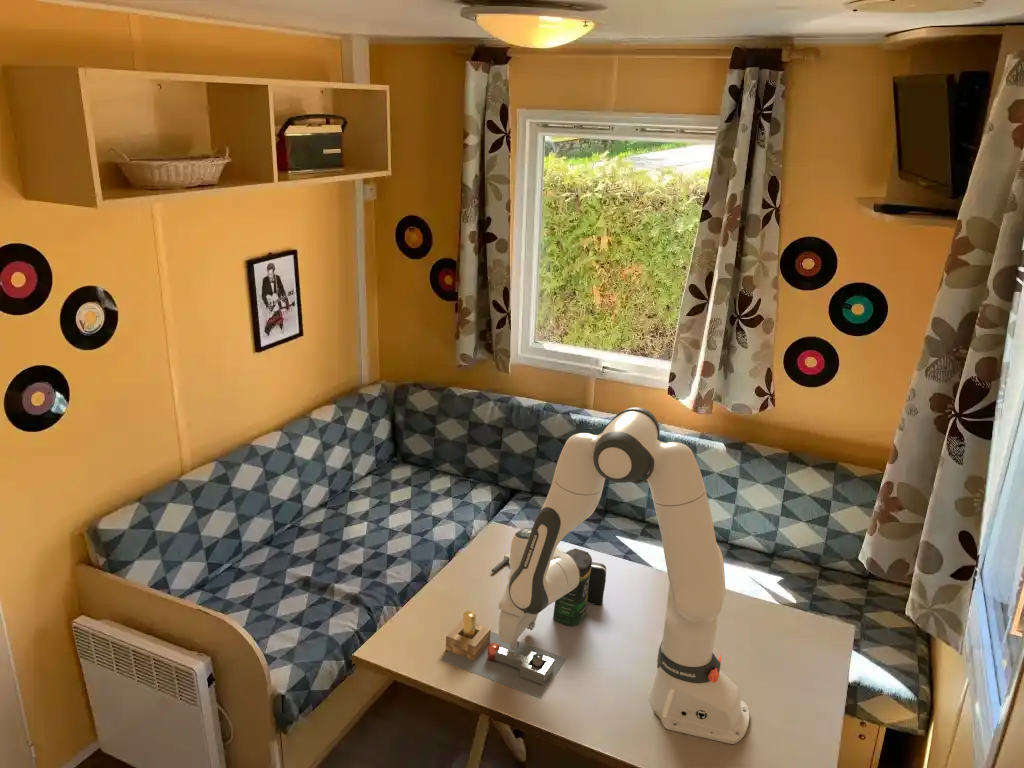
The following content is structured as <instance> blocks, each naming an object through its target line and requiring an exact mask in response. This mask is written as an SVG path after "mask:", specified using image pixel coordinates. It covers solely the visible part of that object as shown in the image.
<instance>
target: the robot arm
mask: <svg viewBox="0 0 1024 768" xmlns="http://www.w3.org/2000/svg"><path fill="white" fill-rule="evenodd" d="M660 433H661V431H660V424H659V422H658V420H657V418H656V416H655V415H654V414H653V413H652V412H650V411H649V410H647V409H646V408H643V407H638V406H636V407H635V406H634V407H629V408H626V409H624V410H622V411H620V412H619V413H617V414H616V415H615V416H614V417H613V418H612V419H611V420H610V421H608V423H607V424H605V425H604V426H603V428H602V432H601V433H599V434H592V433H589V432H578V433H574V434H573V435H571V436H570V437H569V438H568V439H567V440H566V441H565V444H564V446H563V447H562V450H561V452H560V455H559V458H558V460H557V463H556V466H555V469H554V473H553V477H552V482H551V485H550V488H549V490H548V494H547V496H546V498H545V500H544V503H543V505H542V506H541V509H540V511H539V513H538V515H537V517H536V518H535V521H534V523H533V526H531V527H526V528H523V529H520V530H519V531H517V532H515V533H514V535H513V537H512V539H511V543H510V547H509V548H510V549H509V550H510V551H509V552H510V559H509V563H508V565H509V568H510V571H509V574H508V577H507V584H506V586H505V590H504V592H503V594H502V596H501V598H500V600H499V601H498V610H500V612H499V619H498V634H499V638H500V639H501V641H504V642H506V643H509V644H510V649H511V650H514V651H516V650H517V648H518V647H519V642H520V641H519V640H518V639H519V638H520V636H521V635H522V634H523V633H524V631H526V629H527V630H530V631H533V629H534V628H535V627H536V621H537V618H538V615H539V613H541V612H542V611H543V610H545V609H546V608H547V607H548V606H550V605H551V604H553V603H555V601H556V600H558V599H560V598H561V597H563V596H564V595H566V594H567V593H569V592H571V591H572V590H573V589H575V588H576V587H577V586H578V585H579V582H580V570H579V566H578V564H577V562H576V561H575V559H574V558H573V557H572V556H570V555H569V554H567V553H566V552H564V551H562V550H561V549H559V548H558V545H559V544H560V542H561V541H562V540H563V539H564V538H565V537H566V536H567V535H568V534H569V533H570V532H571V531H573V530H574V529H575V528H576V527H577V526H579V525H580V524H582V523H583V522H584V521H585V520H587V519H589V518H590V517H591V516H592V515H593V514H594V512H595V510H596V509H597V506H598V504H599V502H600V500H601V498H602V494H603V491H604V490H603V489H604V486H605V481H606V480H608V481H609V482H614V483H620V484H622V483H623V484H624V483H632V484H633V483H634V484H642V483H644V482H646V481H647V483H648V486H649V488H650V489H649V490H650V493H651V499H652V501H653V506H654V510H655V515H656V518H657V522H658V525H659V526H658V527H659V531H660V534H661V535H660V536H661V541H662V542H661V543H662V549H663V554H664V559H665V560H664V561H665V565H666V566H665V567H666V571H667V576H668V583H669V585H668V595H667V603H666V612H665V619H664V627H663V635H662V640H661V643H660V645H659V648H658V652H657V660H656V662H657V663H656V669H657V670H656V673H655V676H654V679H653V682H652V684H651V686H650V688H649V690H648V693H647V700H648V701H647V702H648V703H649V706H650V707H651V708H652V710H653V712H654V714H655V715H656V716H658V718H659V719H660V722H661V725H662V726H663V727H664V728H666V730H669V731H674V732H679V733H683V734H687V735H691V736H695V737H700V738H703V739H707V740H708V739H709V740H712V741H717V742H721V743H725V744H730V745H734V744H737V743H739V742H740V741H741V740H742V739H743V738H744V736H746V733H747V731H748V728H749V724H750V710H749V707H748V705H747V703H746V702H745V701H743V700H741V693H740V690H739V687H738V685H736V684H735V682H733V681H732V680H731V679H730V678H729V677H728V676H727V675H726V674H725V673H724V672H723V671H722V670H721V666H722V665H721V662H722V655H719V657H717V656H715V653H714V648H715V641H716V635H717V628H718V617H719V615H720V614H721V612H722V609H723V606H724V603H725V599H726V595H727V593H726V592H727V590H726V589H727V588H726V577H725V564H724V563H725V562H724V556H723V553H722V550H721V548H720V546H719V545H718V543H717V538H716V537H717V536H716V533H715V527H714V525H715V524H714V521H713V516H712V512H711V508H710V504H709V503H710V502H709V499H708V495H707V490H706V486H705V482H704V479H703V476H702V472H701V469H700V466H699V464H698V461H697V459H696V457H695V454H694V452H693V450H692V449H691V448H690V447H689V446H688V445H686V444H685V443H682V442H678V441H670V442H669V441H668V442H665V441H661V440H660ZM518 641H519V642H518Z"/></svg>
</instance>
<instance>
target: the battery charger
mask: <svg viewBox="0 0 1024 768" xmlns="http://www.w3.org/2000/svg"><path fill="white" fill-rule="evenodd" d="M606 583H607V567H606V565H605V564H603V563H599V562H593V561H592V567H591V573H590V580H589V589H588V602H587V604H591V605H599V606H602V605H603V604H604V593H605V590H606V589H605V588H606Z"/></svg>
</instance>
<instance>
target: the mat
mask: <svg viewBox="0 0 1024 768" xmlns="http://www.w3.org/2000/svg"><path fill="white" fill-rule="evenodd" d="M517 641H518V642H519V647H518V648H517V650H516V651H514V650H511V649H510V644H509V643H506V642H504V641H501V639H500V638H499V633H497V632H494V631H491V634H490V643H497V644H499V646H500V647H501V648H504V649H507V650H509V651H512V652H515V653H518V654H520V655H523V656H526V657H527V656H528V655H529V654H530V653H531V651H532V652H534V653H540V654H542V655H543V656H546V657H549V658H551V659H554V670H553V672H552V673H551V675H550V676H549V678H548V679H547V680H546V682H545V683H544V685H541V684H539V683H536V682H533V681H531V680H528V679H525V678H523V677H520V669H518V668H516V667H513V666H510V665H507V664H505V663H502V662H499V661H490V660H488V645H489V644H490V643H489V644H488V645H487V647H486V648H485V649H484V650H483V651H482V652H481V654H480V655H479V656H478V657H477V658H476V659H475V661H474V660H472V659H469V658H466V657H463V656H461V655H458V654H455V653H453V652H450V651H448V652H447V653H446V654H445V655H444V656H443V657H442V659H441V660H440V661H441V662H443V663H446V664H448V665H452V666H454V667H456V668H459V669H462V670H463V671H464V670H465V671H467V672H470V673H472V674H475V675H478V676H480V677H483V678H484V679H485V678H486V679H488V680H491V681H492V682H496V683H497V684H498V683H499V684H501V685H504V686H506V687H508V688H511V689H514V690H517V691H519V692H522V693H524V694H526V695H527V694H528V695H530V696H532V697H535V698H538V699H541V698H542V696H543V695H544V693H545V692H546V691H547V688H549V686H550V684H551V683H552V682H553V680H554V679H555V677H556V675H557V674H558V673H559V671H560V670H561V668H562V667H563V665H564V663H565V662H566V661H567V659H568V658H567V657H565V656H564V657H563V656H561V655H558V654H555V653H553V652H550V651H547V650H544V649H541V648H538V647H536V646H533V645H531V644H527V643H524V642H521V641H519V640H517Z"/></svg>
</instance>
